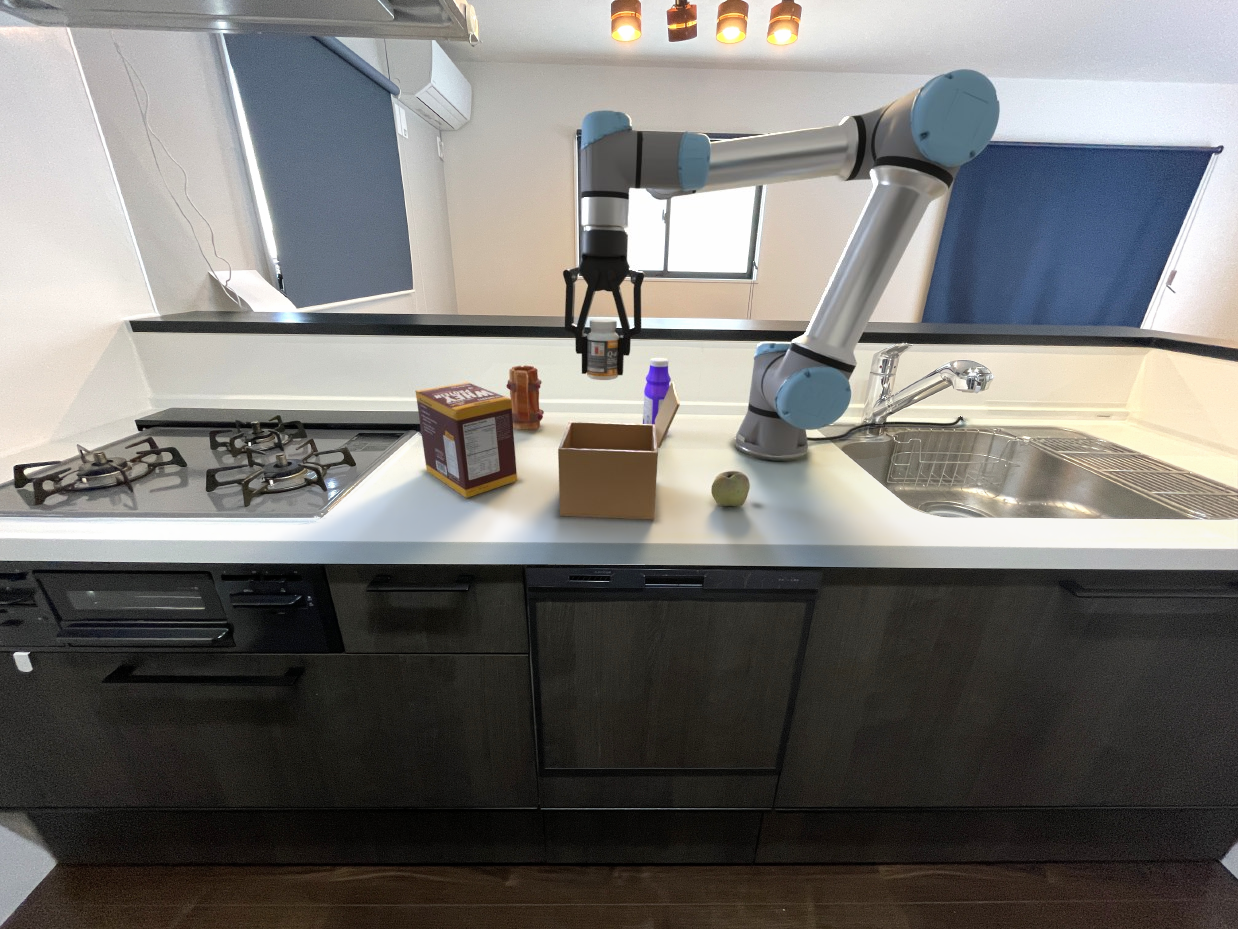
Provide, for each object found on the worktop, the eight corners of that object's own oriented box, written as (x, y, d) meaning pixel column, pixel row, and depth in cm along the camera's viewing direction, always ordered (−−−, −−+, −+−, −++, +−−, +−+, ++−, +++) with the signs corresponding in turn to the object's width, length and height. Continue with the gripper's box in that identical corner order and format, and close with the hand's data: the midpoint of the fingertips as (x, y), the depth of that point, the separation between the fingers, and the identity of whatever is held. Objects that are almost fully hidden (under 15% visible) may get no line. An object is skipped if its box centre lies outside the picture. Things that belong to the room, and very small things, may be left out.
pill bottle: (614, 382, 85) (615, 323, 81) (582, 379, 87) (582, 321, 83) (621, 375, 90) (623, 319, 87) (591, 372, 92) (591, 317, 88)
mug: (510, 421, 120) (506, 360, 114) (544, 421, 121) (542, 360, 115) (504, 443, 107) (499, 375, 101) (542, 442, 108) (540, 375, 102)
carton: (651, 484, 90) (655, 424, 85) (653, 519, 78) (658, 452, 73) (570, 481, 90) (569, 421, 86) (559, 516, 78) (558, 448, 74)
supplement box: (475, 457, 99) (467, 381, 93) (518, 481, 90) (512, 398, 83) (425, 470, 93) (413, 390, 87) (466, 499, 83) (456, 409, 77)
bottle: (671, 438, 113) (677, 362, 106) (647, 439, 111) (651, 362, 104) (661, 427, 119) (666, 355, 112) (639, 429, 118) (642, 356, 111)
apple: (762, 510, 82) (767, 477, 80) (717, 514, 80) (721, 481, 78) (745, 493, 87) (750, 463, 85) (703, 497, 85) (706, 466, 83)
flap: (654, 420, 85) (656, 421, 85) (657, 447, 73) (659, 448, 73) (671, 381, 82) (674, 382, 82) (677, 403, 70) (680, 404, 70)
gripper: (662, 232, 82) (655, 370, 91) (551, 229, 83) (554, 366, 92) (663, 230, 75) (655, 379, 84) (542, 227, 76) (546, 375, 85)
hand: (602, 372), depth 88 cm, fingers closed on pill bottle, 6 cm apart
